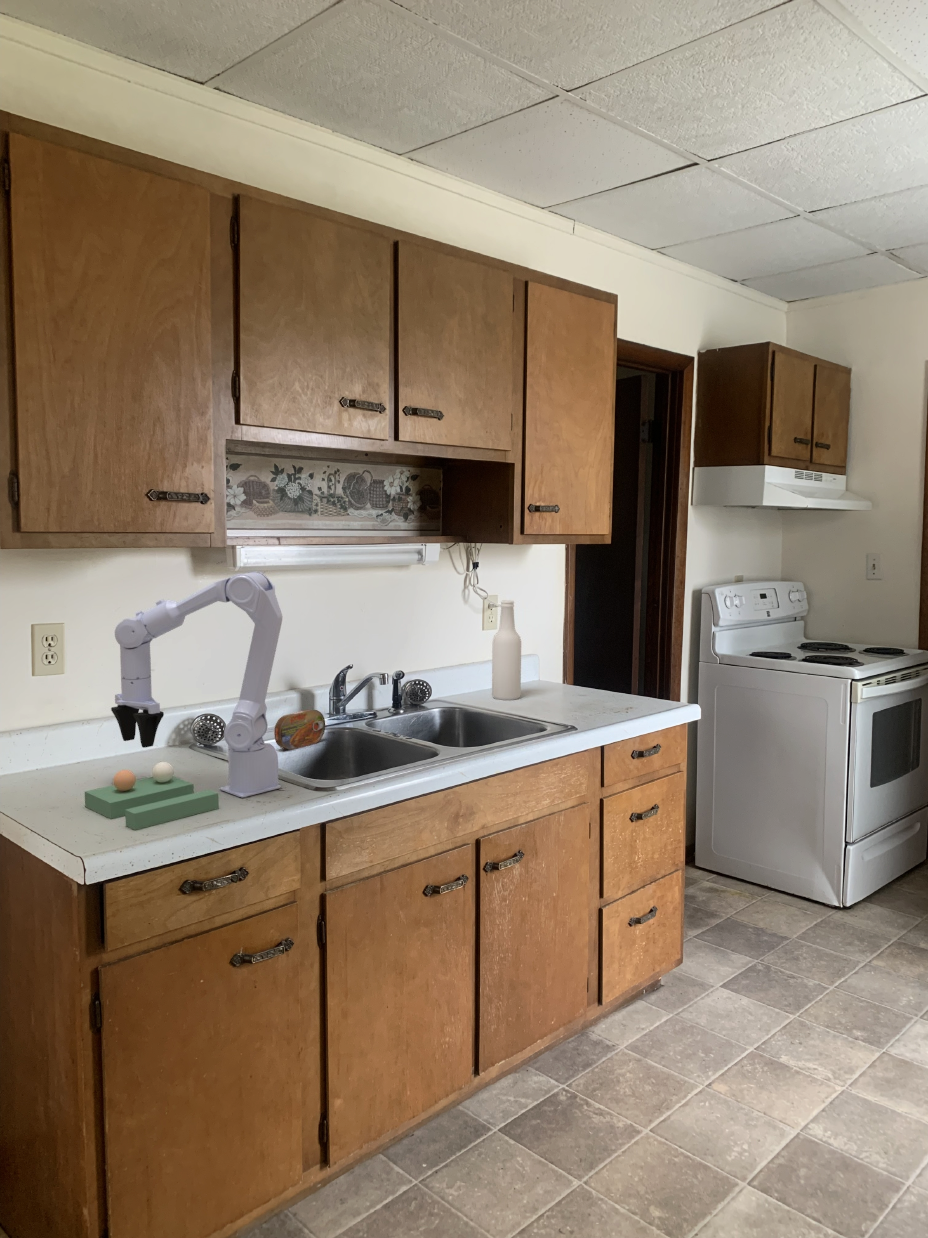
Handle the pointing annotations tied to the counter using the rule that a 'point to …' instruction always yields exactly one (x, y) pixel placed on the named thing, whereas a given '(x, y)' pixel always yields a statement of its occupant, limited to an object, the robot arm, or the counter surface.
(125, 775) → the terracotta ball
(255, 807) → the counter surface
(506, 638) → the alcohol
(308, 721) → the tin
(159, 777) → the ivory ball
